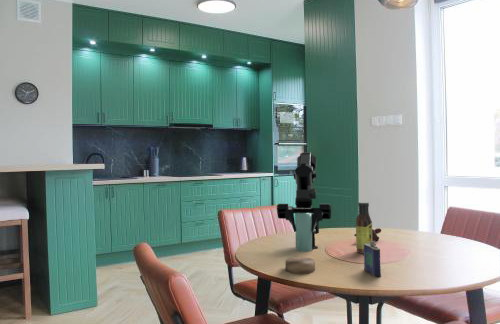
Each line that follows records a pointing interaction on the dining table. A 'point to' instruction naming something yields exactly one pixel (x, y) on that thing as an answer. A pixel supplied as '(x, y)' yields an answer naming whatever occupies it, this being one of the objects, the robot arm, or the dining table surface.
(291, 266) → the stand
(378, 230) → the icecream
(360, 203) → the sauce bottle
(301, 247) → the teal upright cylinder
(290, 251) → the dining table surface
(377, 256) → the flask
